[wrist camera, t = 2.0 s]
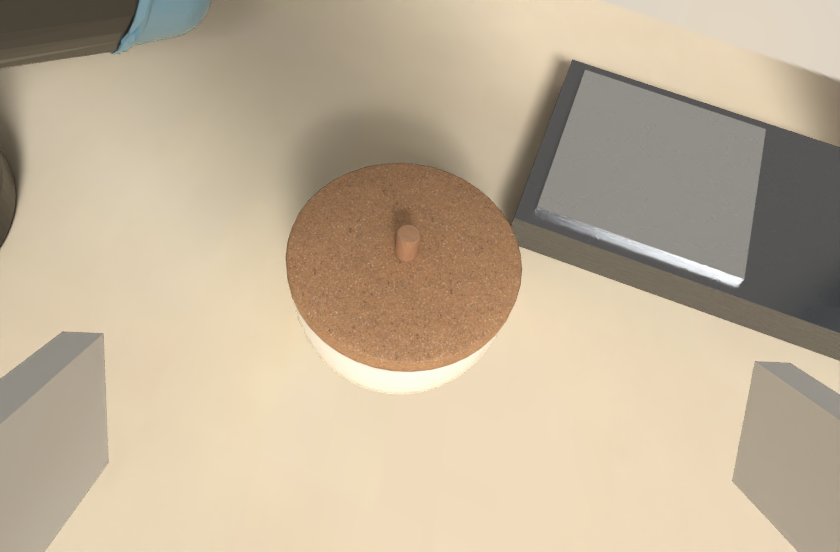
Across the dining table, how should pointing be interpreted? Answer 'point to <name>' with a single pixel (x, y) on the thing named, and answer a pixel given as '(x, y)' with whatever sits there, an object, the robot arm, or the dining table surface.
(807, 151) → the arbor press
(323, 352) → the lidded jar
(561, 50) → the dining table surface
